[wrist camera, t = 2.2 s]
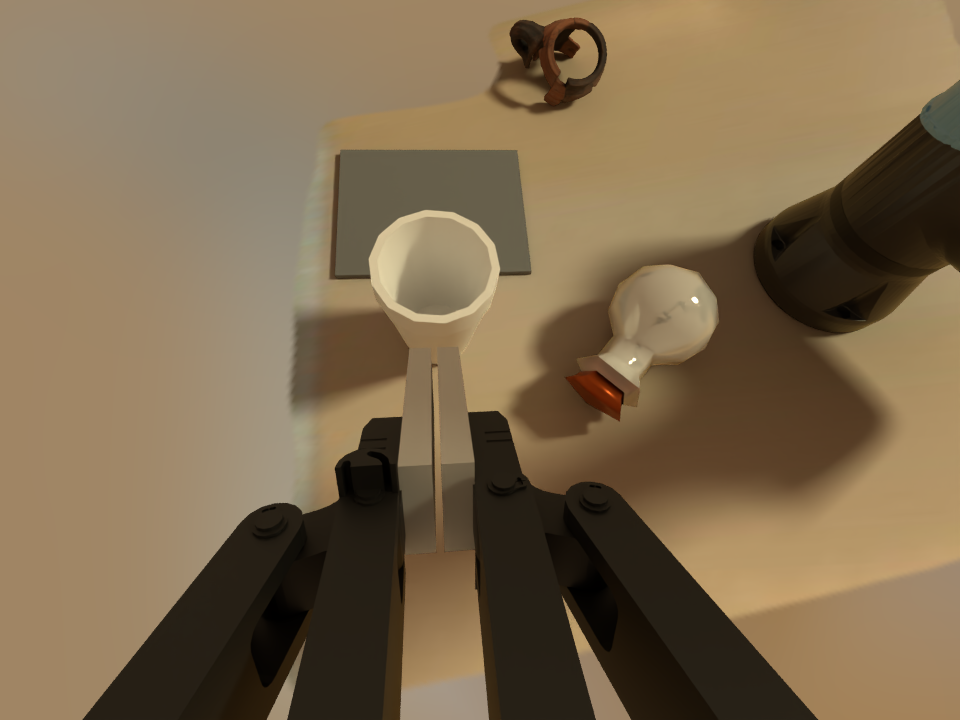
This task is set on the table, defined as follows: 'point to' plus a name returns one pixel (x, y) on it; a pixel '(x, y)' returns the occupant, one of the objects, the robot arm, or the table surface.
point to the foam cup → (434, 278)
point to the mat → (429, 200)
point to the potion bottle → (647, 334)
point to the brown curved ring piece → (556, 38)
